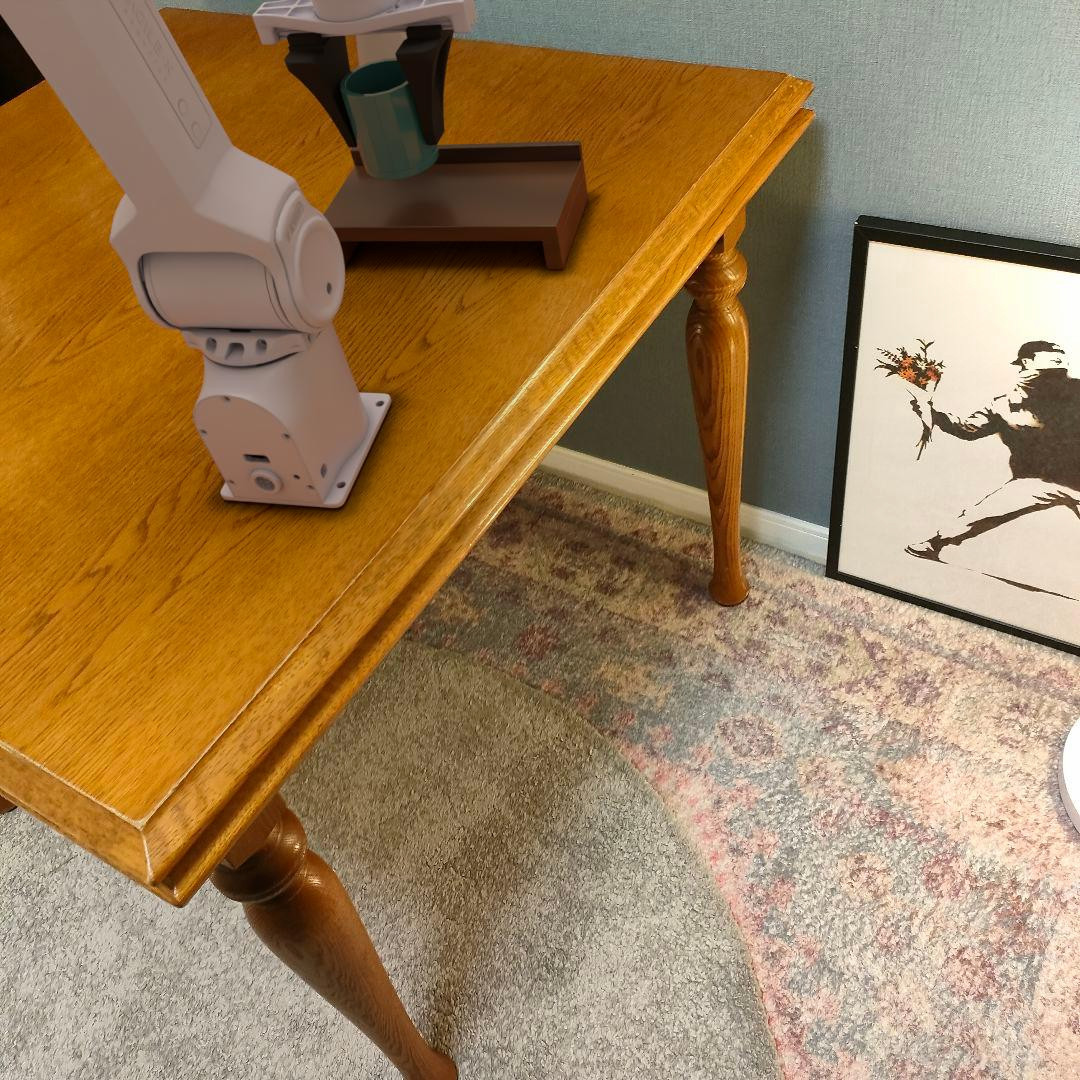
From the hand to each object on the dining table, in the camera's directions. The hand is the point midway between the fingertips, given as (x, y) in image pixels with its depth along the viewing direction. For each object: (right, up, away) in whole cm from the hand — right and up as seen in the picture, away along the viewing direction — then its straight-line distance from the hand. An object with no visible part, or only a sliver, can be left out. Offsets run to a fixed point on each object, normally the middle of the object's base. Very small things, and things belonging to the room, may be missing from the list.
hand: (396, 139), depth 70 cm
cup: (0, -1, +1) cm, 2 cm away
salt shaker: (-2, +8, +18) cm, 20 cm away
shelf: (+4, -5, +5) cm, 8 cm away
